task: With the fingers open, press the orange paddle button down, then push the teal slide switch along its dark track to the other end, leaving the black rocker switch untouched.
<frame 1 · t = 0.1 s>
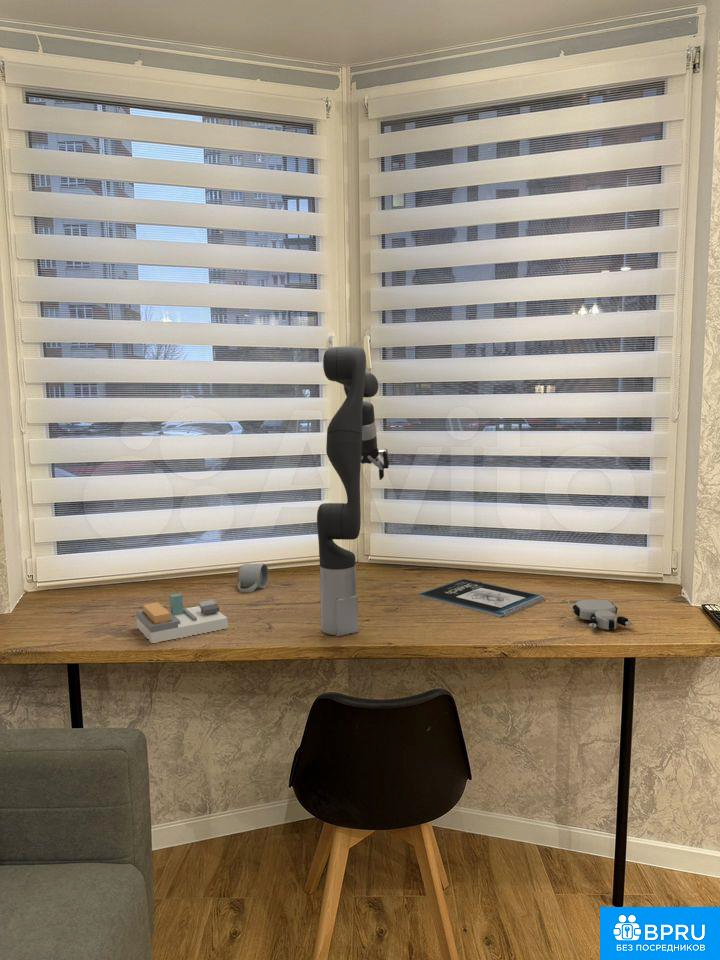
hand: (368, 478, 241), 31 cm above the table, tool tilted 20°, fingers open, 8 cm apart
switch panel: (182, 628, 193), on the table
ceramic mug: (252, 589, 228), on the table
sketchbook: (481, 600, 214), on the table
paddle button: (156, 612, 189), point 6 cm above the table, slide at 0.0 cm
slide switch: (176, 604, 195), point 6 cm above the table, slide at 0.0 cm
robot toy: (599, 624, 191), on the table
rocker switch: (208, 608, 196), point 4 cm above the table, hinge at -12.0°
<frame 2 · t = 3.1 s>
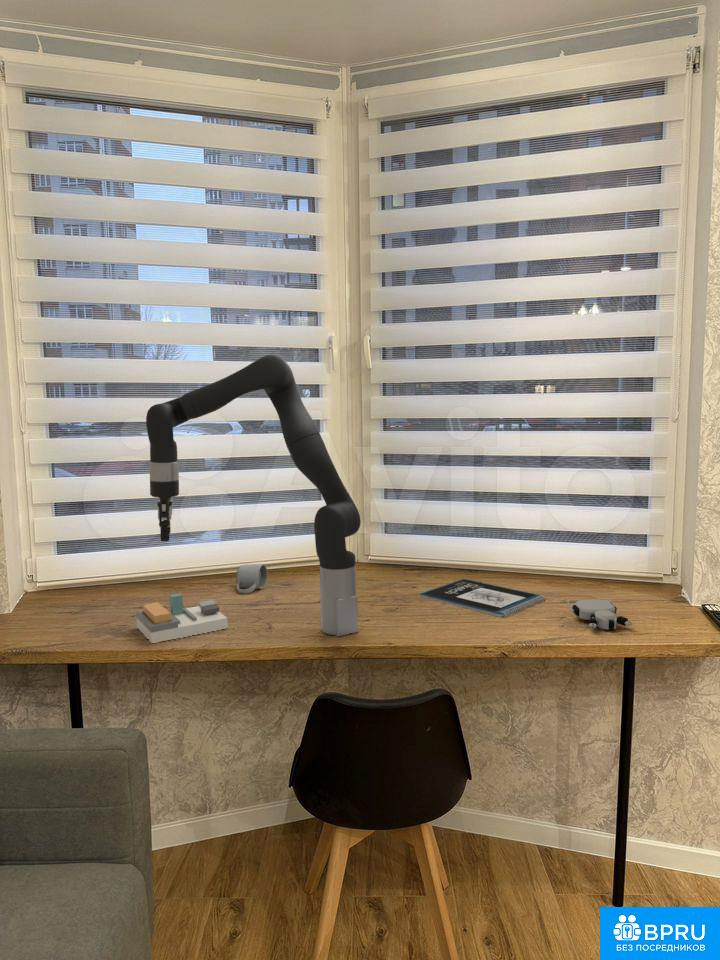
hand: (165, 537, 198), 23 cm above the table, tool pointing down, fingers open, 8 cm apart
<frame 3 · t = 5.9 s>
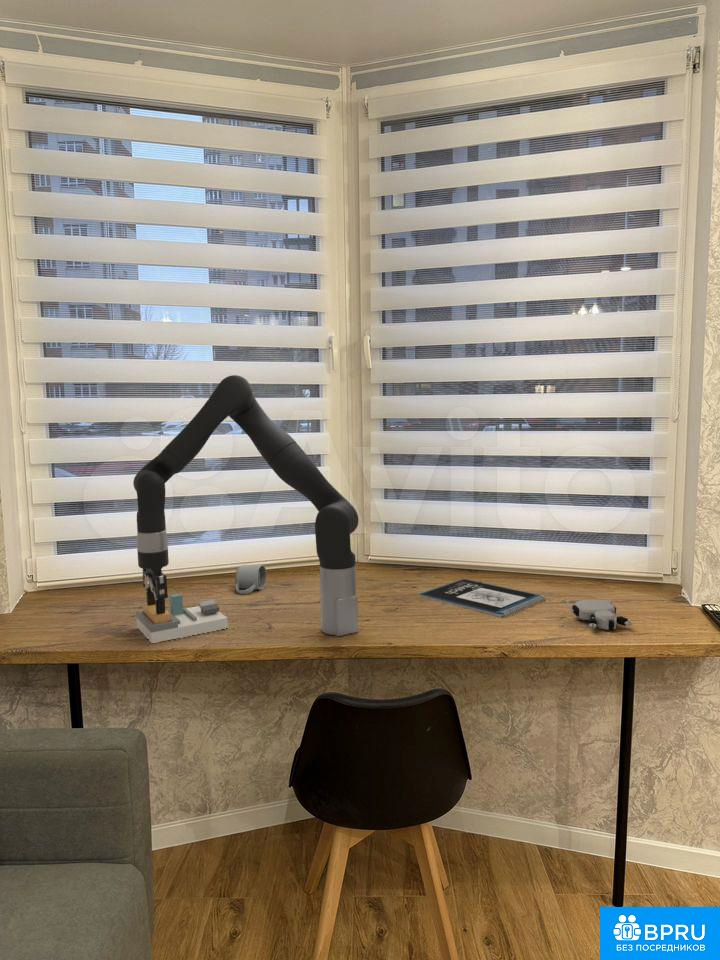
hand: (156, 609, 189), 7 cm above the table, tool pointing down
paddle button: (156, 612, 189), point 6 cm above the table, slide at -0.1 cm, touching gripper
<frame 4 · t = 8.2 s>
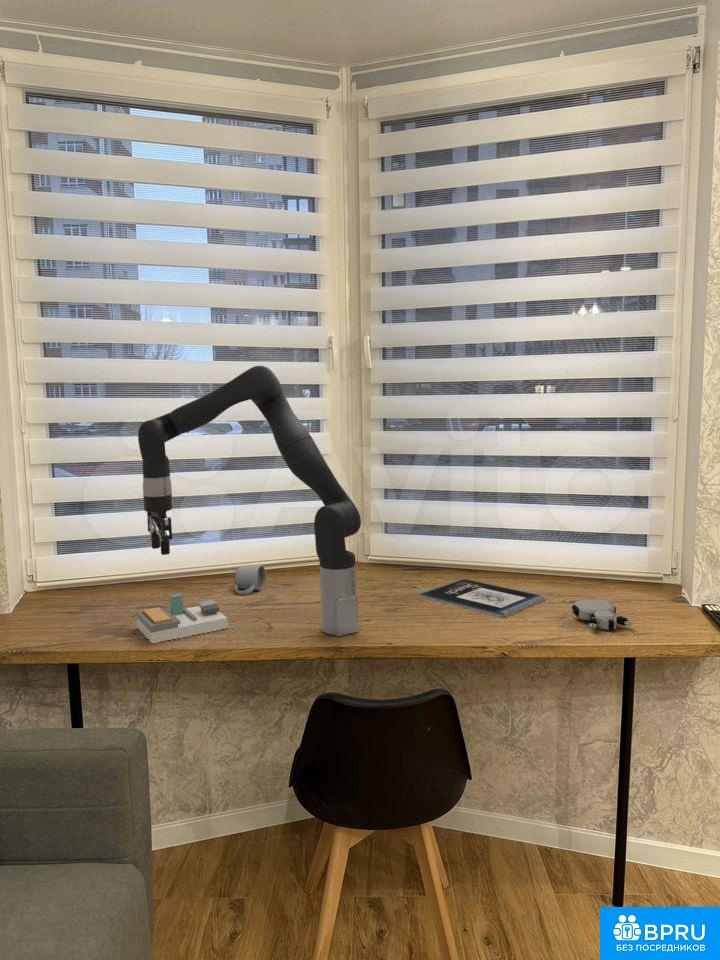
hand: (160, 551, 201), 18 cm above the table, tool pointing down, fingers open, 8 cm apart
paddle button: (156, 617, 189), point 4 cm above the table, slide at -1.4 cm
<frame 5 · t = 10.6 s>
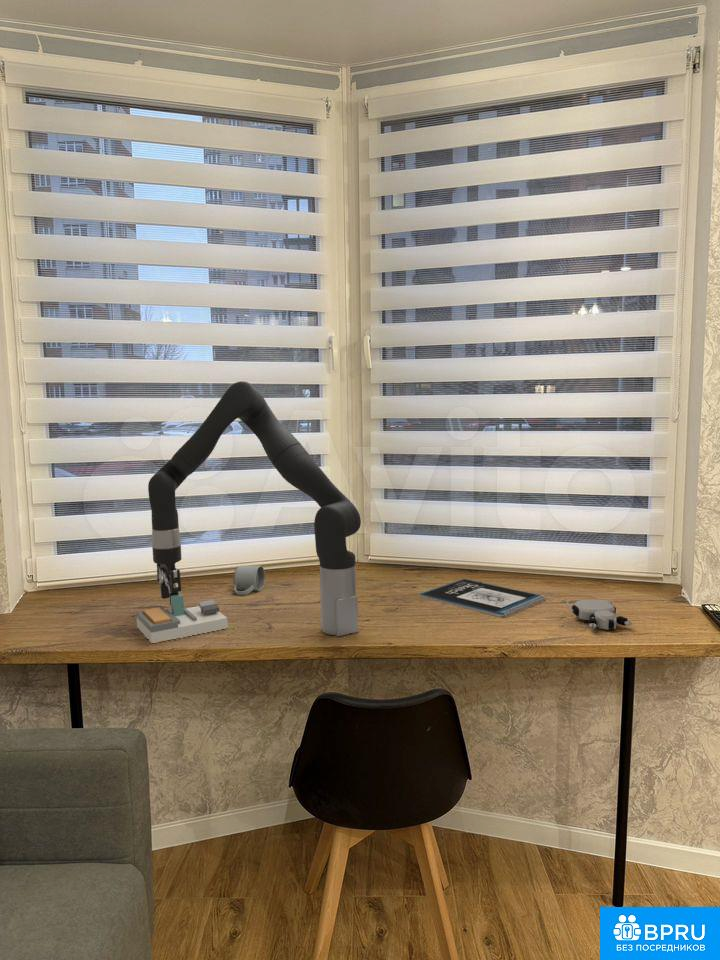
hand: (170, 601, 201), 4 cm above the table, tool pointing down, fingers open, 8 cm apart
slide switch: (177, 605, 195), point 6 cm above the table, slide at 0.8 cm, touching gripper
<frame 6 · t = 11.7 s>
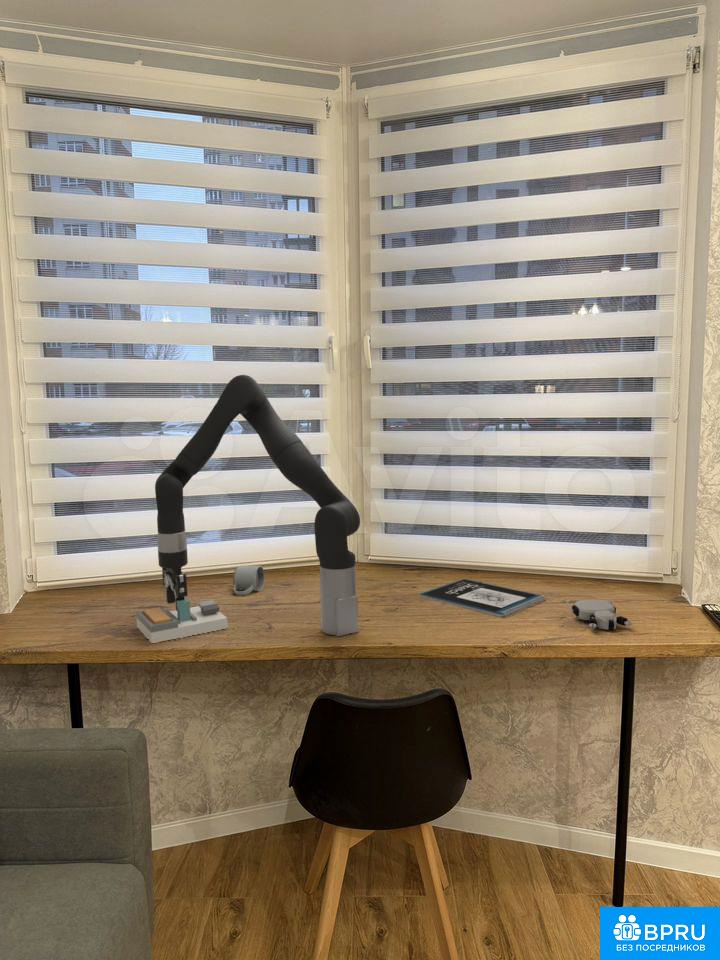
hand: (175, 606, 197), 5 cm above the table, tool pointing down, fingers open, 8 cm apart
slide switch: (183, 610, 190), point 6 cm above the table, slide at 6.1 cm, touching gripper
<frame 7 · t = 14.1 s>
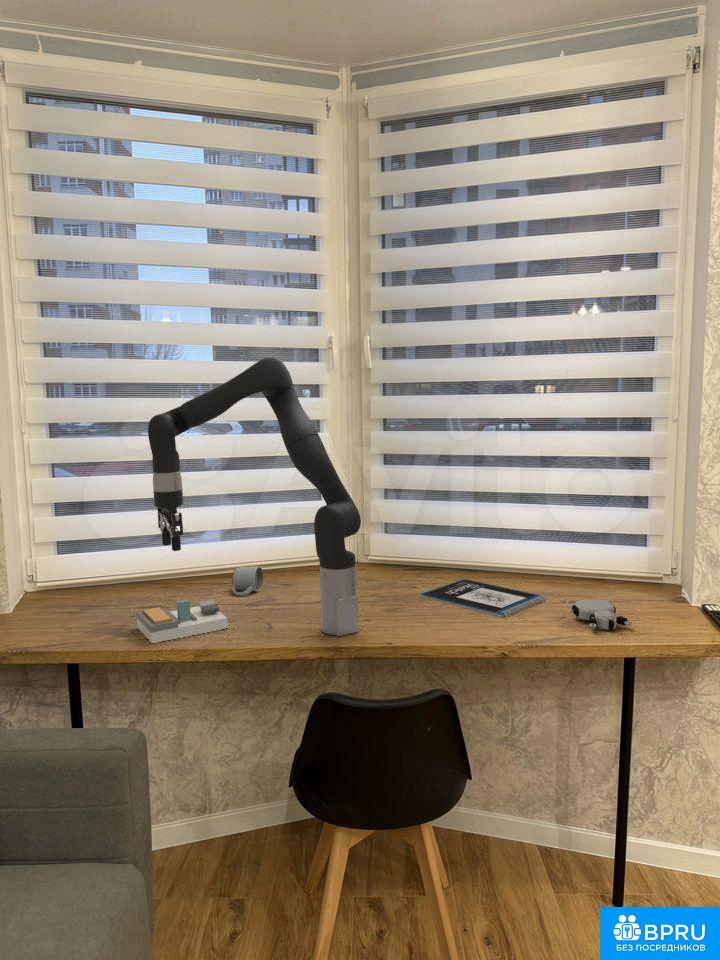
hand: (171, 547, 197), 20 cm above the table, tool pointing down, fingers open, 8 cm apart
slide switch: (183, 610, 190), point 6 cm above the table, slide at 6.1 cm
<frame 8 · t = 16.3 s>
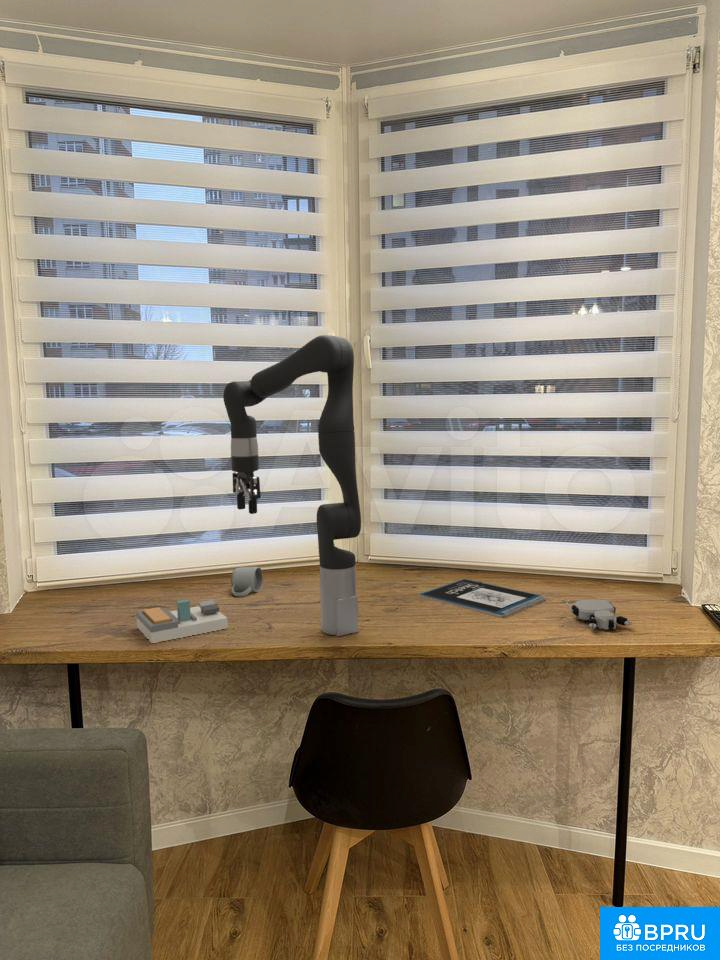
hand: (247, 511, 205), 28 cm above the table, tool pointing down, fingers open, 8 cm apart
at the end: paddle button slide at -1.4 cm; slide switch slide at 6.1 cm; rocker switch at -12° (first picture: -12°) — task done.
